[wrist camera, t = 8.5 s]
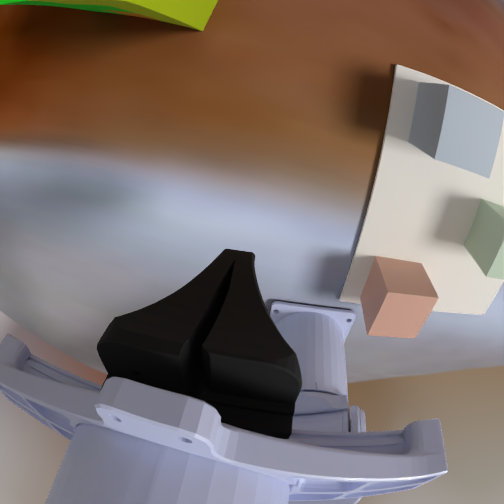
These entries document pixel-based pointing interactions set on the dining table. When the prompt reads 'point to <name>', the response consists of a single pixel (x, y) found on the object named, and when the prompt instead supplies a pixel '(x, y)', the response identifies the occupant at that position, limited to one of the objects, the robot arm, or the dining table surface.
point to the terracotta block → (397, 298)
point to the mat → (425, 211)
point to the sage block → (488, 239)
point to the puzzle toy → (140, 9)
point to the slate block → (456, 127)
